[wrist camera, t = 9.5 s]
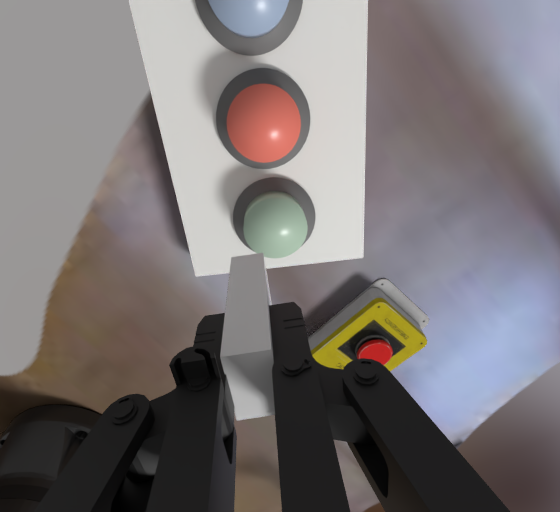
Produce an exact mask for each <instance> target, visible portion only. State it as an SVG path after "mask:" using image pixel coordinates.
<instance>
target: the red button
mask: <svg viewBox="0 0 560 512" xmlns="http://www.w3.org/2000/svg"><path fill="white" fill-rule="evenodd" d="M300 129H301V119H300V113H299V110H298V107H297V105H296V103H295V101H294V100H293V99H292V97H291V96H290V95H289V94H288V93H287V92H286V91H284V90H283V89H281V88H279V87H277V86H275V85H271V84H255V85H252V86H249V87H247V88H245V89H244V90H242V91H241V92H240V93H239V94H238V95H237V96H236V97H235V98H234V100H233V101H232V103H231V105H230V107H229V110H228V114H227V131H228V135H229V138H230V140H231V142H232V144H233V145H234V147H235V148H236V149H237V151H238V152H239V153H241V154H242V155H243V156H244V157H246V158H248V159H250V160H252V161H256V162H262V163H267V162H273V161H276V160H279V159H281V158H282V157H284V156H286V155H287V154H288V153H289V152H290V151H291V150H292V149H293V147H294V146H295V144H296V142H297V140H298V137H299V134H300Z"/></svg>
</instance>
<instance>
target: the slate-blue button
mask: <svg viewBox="0 0 560 512" xmlns="http://www.w3.org/2000/svg"><path fill="white" fill-rule="evenodd" d="M208 1H209V4H210V6H211V8H212V9H213V11H214V13H215V15H216V16H217V18H218V19H219V21H220V22H221V23H222V24H223V26H224V27H225V28H227V29H228V30H229V31H230V32H232V33H233V34H235V35H237V36H240V37H243V38H258V37H261V36H264V35H266V34H268V33H269V32H271V31H272V30H273V29H274V28H275V27H276V26H277V25H278V24H279V22H280V21H281V19H282V17H283V15H284V13H285V11H286V8H287V5H288V2H289V0H208Z"/></svg>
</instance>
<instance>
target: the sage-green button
mask: <svg viewBox="0 0 560 512" xmlns="http://www.w3.org/2000/svg"><path fill="white" fill-rule="evenodd" d="M307 230H308V226H307V221H306V217H305V215H304V212H303V209H302V207H301V205H300V203H299V202H298V201H297V200H296V199H295V198H294V197H293V196H291V195H289V194H287V193H285V192H281V191H268V192H265V193H262V194H260V195H258V196H257V197H255V198H254V199H253V200H252V201H251V202H250V204H249V205H248V207H247V209H246V212H245V217H244V228H243V231H244V237H245V240H246V242H247V244H248V245H249V246H250V248H251V249H252V250H253V251H255V252H256V253H263V254H264V257H267V258H283V257H286V256H289V255H291V254H293V253H294V252H296V251H297V250H298V249H299V248H300V247H301V246H302V244H303V243H304V241H305V239H306V236H307Z"/></svg>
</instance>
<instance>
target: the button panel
mask: <svg viewBox="0 0 560 512" xmlns="http://www.w3.org/2000/svg"><path fill="white" fill-rule="evenodd" d="M128 1H129V5H130V9H131V14H132V18H133V22H134V26H135V30H136V34H137V38H138V42H139V46H140V50H141V54H142V58H143V63H144V66H145V71H146V75H147V79H148V83H149V87H150V91H151V95H152V99H153V103H154V108H155V112H156V116H157V120H158V124H159V128H160V132H161V136H162V140H163V144H164V148H165V153H166V157H167V161H168V165H169V169H170V173H171V177H172V181H173V185H174V189H175V193H176V197H177V202H178V206H179V210H180V214H181V218H182V222H183V226H184V230H185V234H186V238H187V242H188V246H189V251H190V255H191V259H192V263H193V267H194V271H195V275H196V277H197V276H206V275H215V274H224V273H230V264H231V257H236V256H243V255H250V254H257V253H256V252H255V251H253V250H252V249H251V248H250V246H249V245H248V244H247V242H246V240H245V237H244V231H243V228H244V217H245V212H246V209H247V207H248V205H249V204H250V202H251V201H252V200H253V199H254V198H255V197H257V196H258V195H260V194H262V193H265V192H268V191H281V192H285V193H287V194H289V195H291V196H293V197H294V198H295V199H296V200H297V201H298V202H299V203H300V205H301V207H302V209H303V212H304V215H305V217H306V221H307V226H308V230H307V236H306V239H305V241H304V243H303V244H302V246H301V247H300V248H299V249H298V250H297V251H296V252H294V253H293V254H291V255H289V256H286V257H283V258H267V257H264V260H265V266H266V269H268V268H277V267H286V266H295V265H303V264H312V263H321V262H330V261H339V260H348V259H357V258H363V249H364V192H365V135H366V77H367V20H368V0H289V2H288V5H287V8H286V11H285V13H284V15H283V17H282V19H281V21H280V22H279V24H278V25H277V26H276V27H275V28H274V29H273V30H272V31H271V32H269V33H268V34H266V35H264V36H261V37H258V38H243V37H240V36H237V35H235V34H233V33H232V32H230V31H229V30H228V29H227V28H225V27H224V26H223V24H222V23H221V22H220V21H219V19H218V18H217V16H216V15H215V13H214V11H213V9H212V8H211V6H210V4H209V1H208V0H128ZM255 84H271V85H275V86H277V87H279V88H281V89H283V90H284V91H286V92H287V93H288V94H289V95H290V96H291V97H292V99H293V100H294V101H295V103H296V105H297V107H298V110H299V113H300V119H301V129H300V134H299V137H298V140H297V142H296V144H295V146H294V147H293V149H292V150H291V151H290V152H289V153H288V154H287V155H286V156H284V157H282V158H281V159H279V160H276V161H273V162H267V163H262V162H256V161H252V160H250V159H248V158H246V157H244V156H243V155H242V154H241V153H239V152H238V151H237V149H236V148H235V147H234V145H233V144H232V142H231V140H230V138H229V135H228V131H227V114H228V110H229V107H230V105H231V103H232V101H233V100H234V98H235V97H236V96H237V95H238V94H239V93H240V92H241V91H242V90H244V89H245V88H247V87H249V86H252V85H255Z"/></svg>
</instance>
